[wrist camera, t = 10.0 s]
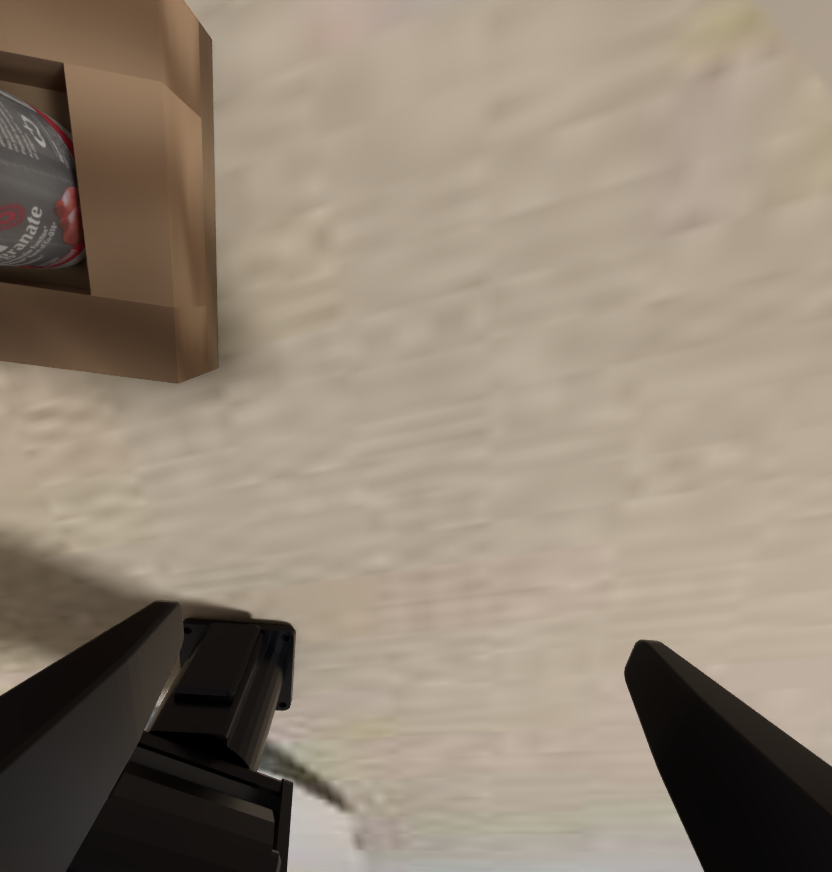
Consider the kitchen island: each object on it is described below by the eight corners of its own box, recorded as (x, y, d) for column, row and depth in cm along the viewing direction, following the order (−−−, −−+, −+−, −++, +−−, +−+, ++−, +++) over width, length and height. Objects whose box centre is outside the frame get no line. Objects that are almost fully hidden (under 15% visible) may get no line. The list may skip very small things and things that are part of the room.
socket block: (218, 367, 18) (177, 383, 15) (-68, 330, 17) (-181, 337, 14) (211, 38, 14) (155, -41, 11) (-160, -38, 13) (-350, -152, 10)
